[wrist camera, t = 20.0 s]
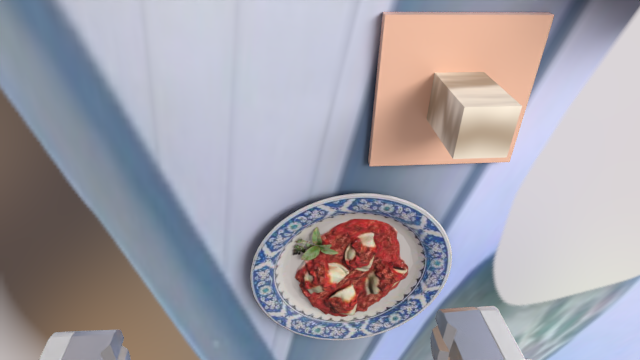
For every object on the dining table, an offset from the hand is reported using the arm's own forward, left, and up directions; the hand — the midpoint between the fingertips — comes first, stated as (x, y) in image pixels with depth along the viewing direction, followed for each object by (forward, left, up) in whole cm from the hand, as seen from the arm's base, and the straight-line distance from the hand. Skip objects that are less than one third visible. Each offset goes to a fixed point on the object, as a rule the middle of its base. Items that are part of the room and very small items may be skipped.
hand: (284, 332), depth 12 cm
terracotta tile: (+8, +18, -34) cm, 39 cm away
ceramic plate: (+32, +9, -35) cm, 48 cm away
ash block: (+8, +18, -33) cm, 38 cm away
